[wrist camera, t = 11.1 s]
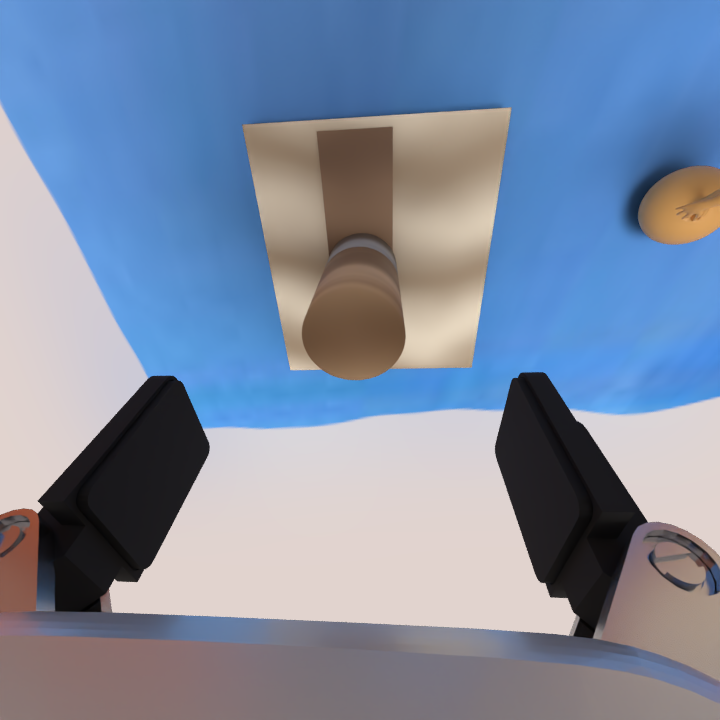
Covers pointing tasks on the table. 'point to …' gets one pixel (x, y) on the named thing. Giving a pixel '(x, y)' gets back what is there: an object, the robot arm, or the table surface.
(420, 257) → the floor board
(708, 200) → the figurine
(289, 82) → the table surface
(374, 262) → the brown cylinder
